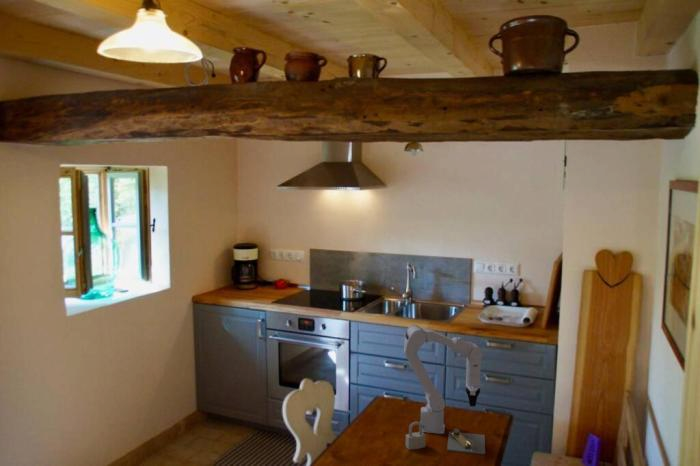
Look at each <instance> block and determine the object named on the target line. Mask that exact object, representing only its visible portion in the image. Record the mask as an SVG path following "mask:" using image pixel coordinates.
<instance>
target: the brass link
mask: <svg viewBox="0 0 700 466" xmlns="http://www.w3.org/2000/svg"><path fill="white" fill-rule="evenodd" d="M451 432H452V437H454V438H455V439H456V440H457V441H458V442H459V443H460V444H461V445H462V446H463V447H464V448H467V447H470V445H469V444H468V443H467V442H466V438H465V437H463V436H462V435H461V433H462V432H460V431H459V434H454V431H451Z"/></svg>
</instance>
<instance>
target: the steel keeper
mask: <svg viewBox="0 0 700 466" xmlns="http://www.w3.org/2000/svg"><path fill="white" fill-rule="evenodd" d="M466 442H467V443H468V444H469V445H470V449H471V450H476V443H475V442H474V441H473V440H471V439H466Z"/></svg>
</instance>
